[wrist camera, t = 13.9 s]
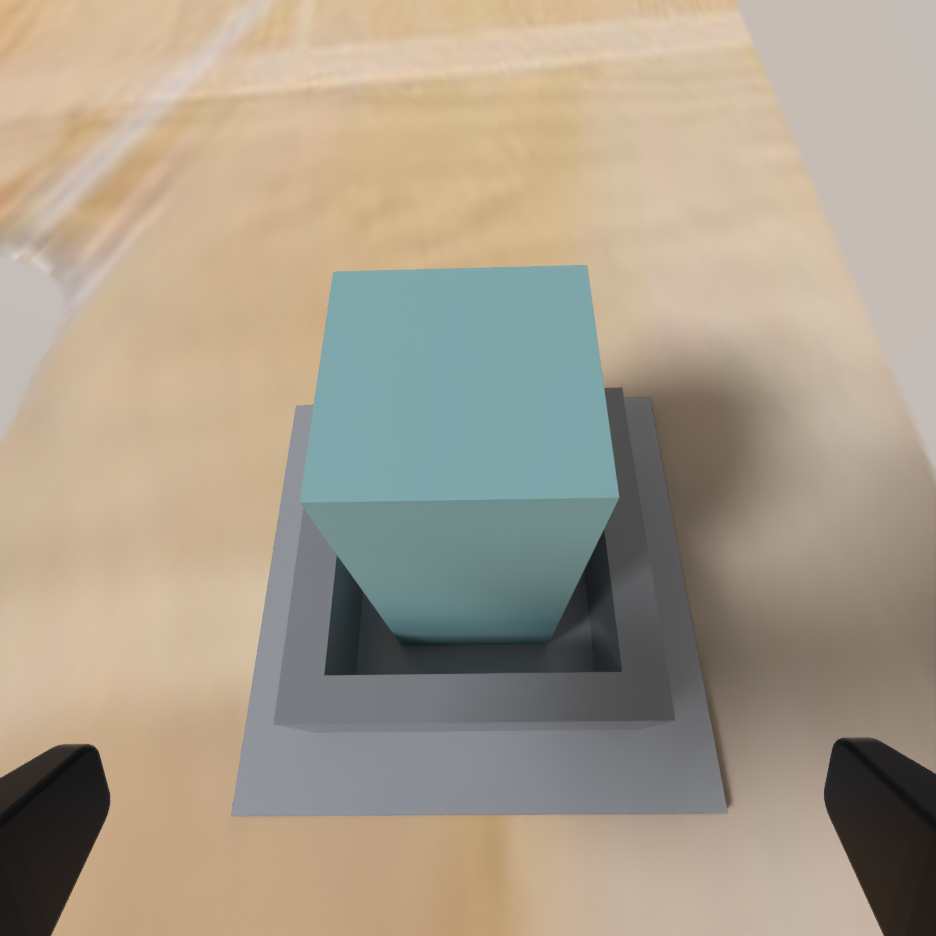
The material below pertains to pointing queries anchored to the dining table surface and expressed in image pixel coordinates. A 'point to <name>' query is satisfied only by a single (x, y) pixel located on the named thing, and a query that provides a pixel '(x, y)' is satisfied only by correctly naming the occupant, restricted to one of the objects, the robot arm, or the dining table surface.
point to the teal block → (462, 447)
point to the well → (485, 681)
